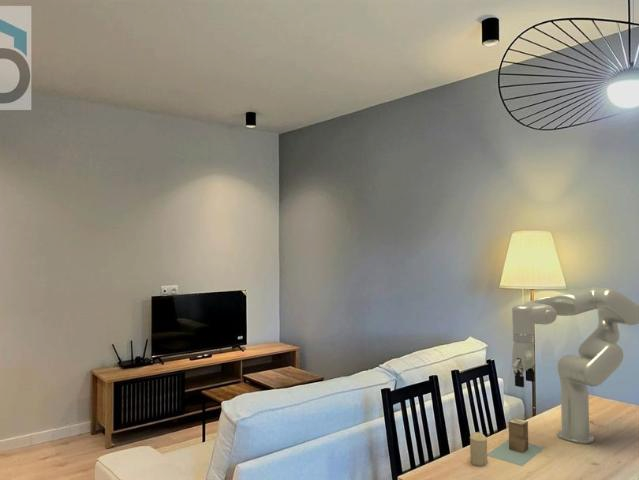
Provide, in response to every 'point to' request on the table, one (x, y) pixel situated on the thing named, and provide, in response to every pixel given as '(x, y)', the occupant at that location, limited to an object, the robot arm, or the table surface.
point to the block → (518, 435)
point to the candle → (478, 449)
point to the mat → (515, 453)
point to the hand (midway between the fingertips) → (525, 383)
